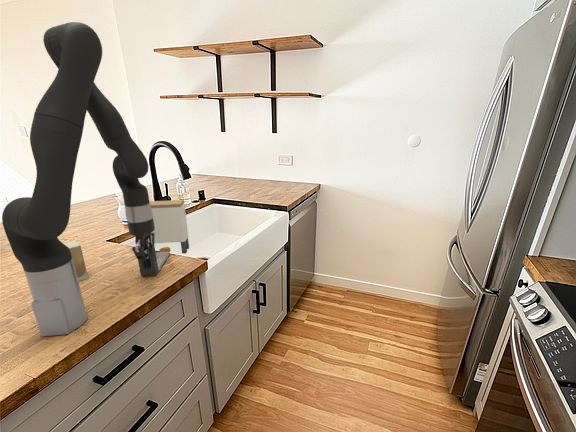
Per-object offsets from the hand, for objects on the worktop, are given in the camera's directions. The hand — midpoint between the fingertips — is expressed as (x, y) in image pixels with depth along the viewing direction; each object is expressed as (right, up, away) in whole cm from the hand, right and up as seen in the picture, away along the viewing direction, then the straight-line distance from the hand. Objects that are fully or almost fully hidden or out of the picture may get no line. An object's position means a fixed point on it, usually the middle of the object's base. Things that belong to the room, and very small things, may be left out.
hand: (148, 266), depth 98 cm
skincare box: (-23, -4, 0) cm, 23 cm away
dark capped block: (-1, 0, +7) cm, 8 cm away
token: (-2, +2, +19) cm, 19 cm away
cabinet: (-2, +3, +19) cm, 19 cm away
